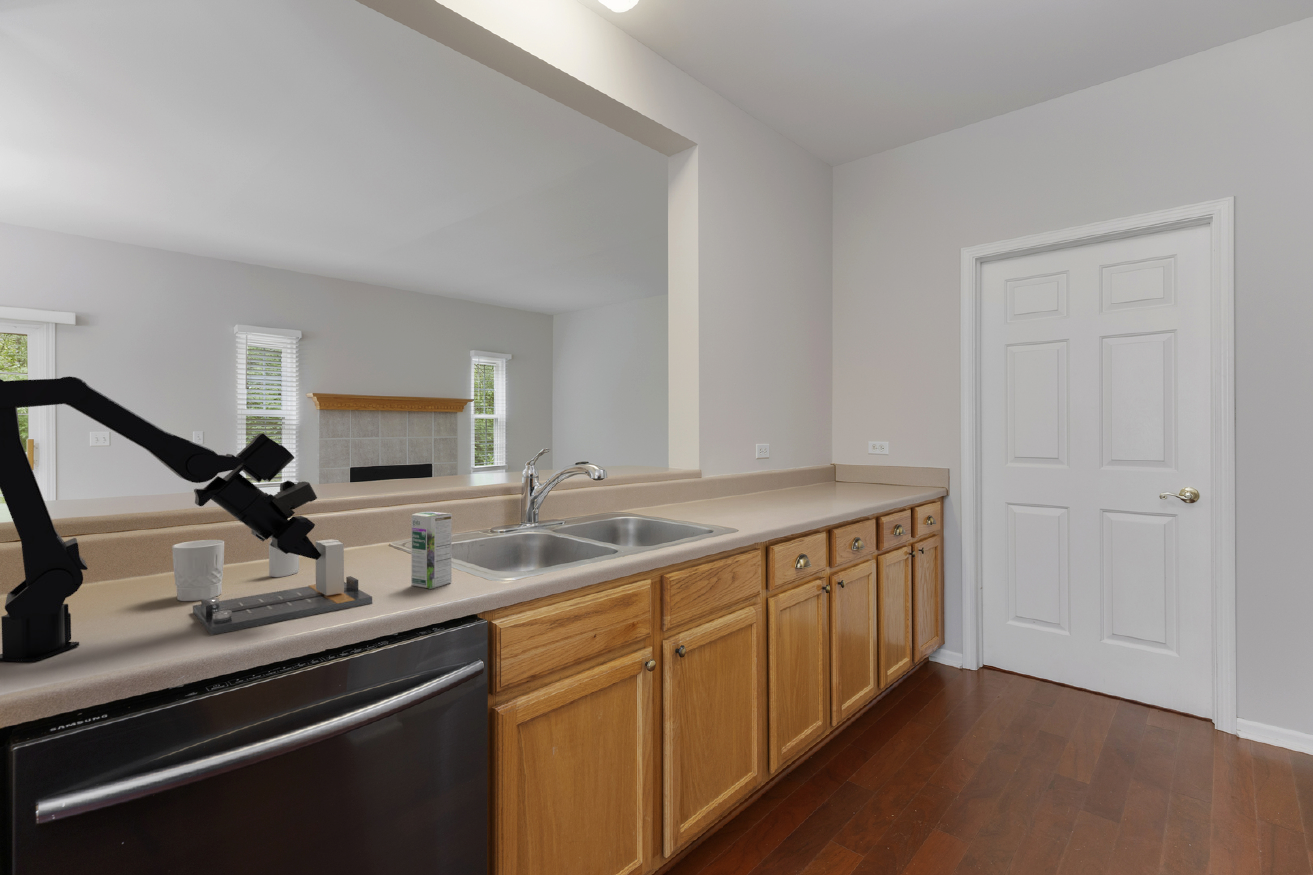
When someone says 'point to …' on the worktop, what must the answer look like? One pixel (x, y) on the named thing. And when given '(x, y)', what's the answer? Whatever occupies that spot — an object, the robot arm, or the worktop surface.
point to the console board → (275, 607)
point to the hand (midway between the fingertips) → (318, 557)
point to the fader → (330, 567)
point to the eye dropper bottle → (282, 563)
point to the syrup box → (431, 549)
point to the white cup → (198, 569)
